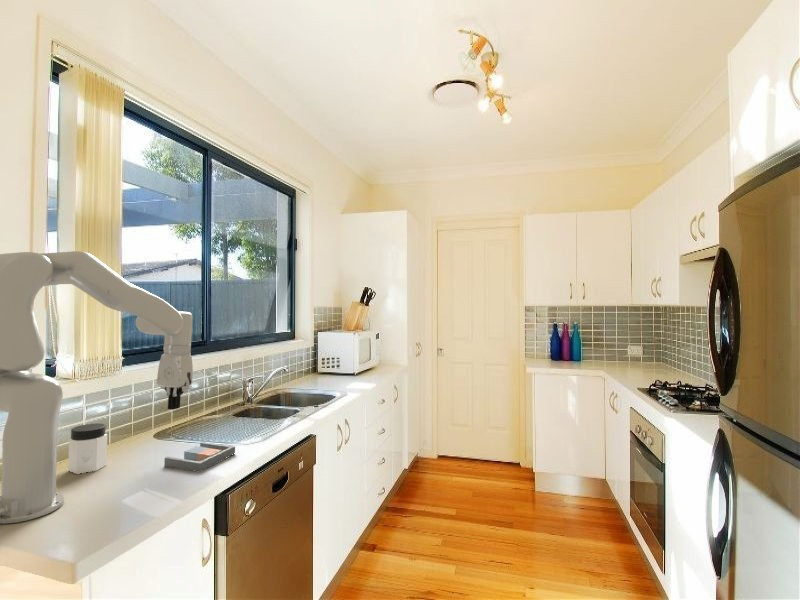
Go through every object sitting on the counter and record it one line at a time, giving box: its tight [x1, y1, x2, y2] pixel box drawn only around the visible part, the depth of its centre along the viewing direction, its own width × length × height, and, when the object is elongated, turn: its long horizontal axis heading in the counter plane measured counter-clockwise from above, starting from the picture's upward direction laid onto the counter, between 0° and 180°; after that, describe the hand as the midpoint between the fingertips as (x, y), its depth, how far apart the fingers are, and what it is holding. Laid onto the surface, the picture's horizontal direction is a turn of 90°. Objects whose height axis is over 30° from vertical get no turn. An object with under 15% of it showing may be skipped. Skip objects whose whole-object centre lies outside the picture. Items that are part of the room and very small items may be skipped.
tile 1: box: [183, 445, 208, 461], centre depth 129 cm, size 5×5×3 cm
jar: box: [67, 422, 108, 475], centre depth 121 cm, size 9×8×12 cm
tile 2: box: [197, 448, 222, 462], centre depth 128 cm, size 5×5×3 cm
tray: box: [163, 441, 236, 472], centre depth 128 cm, size 15×13×2 cm
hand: (173, 408), depth 131 cm, fingers closed
